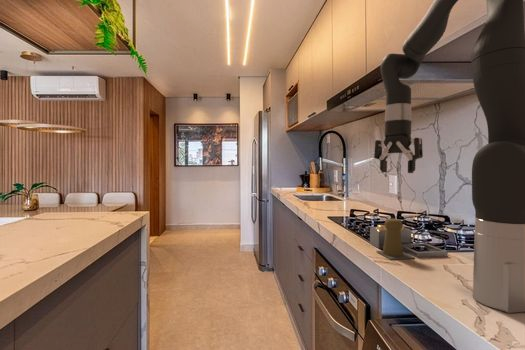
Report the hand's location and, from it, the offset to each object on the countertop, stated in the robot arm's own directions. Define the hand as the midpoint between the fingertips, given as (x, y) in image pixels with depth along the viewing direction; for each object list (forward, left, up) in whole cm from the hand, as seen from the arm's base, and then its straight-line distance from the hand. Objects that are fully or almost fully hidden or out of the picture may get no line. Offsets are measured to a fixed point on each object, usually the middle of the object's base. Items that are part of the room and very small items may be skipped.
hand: (396, 172), depth 95 cm
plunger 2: (+11, -8, -24) cm, 28 cm away
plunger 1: (+11, -2, -24) cm, 26 cm away
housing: (+5, -7, -26) cm, 28 cm away
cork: (+1, 0, -26) cm, 26 cm away
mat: (0, 0, -26) cm, 26 cm away
